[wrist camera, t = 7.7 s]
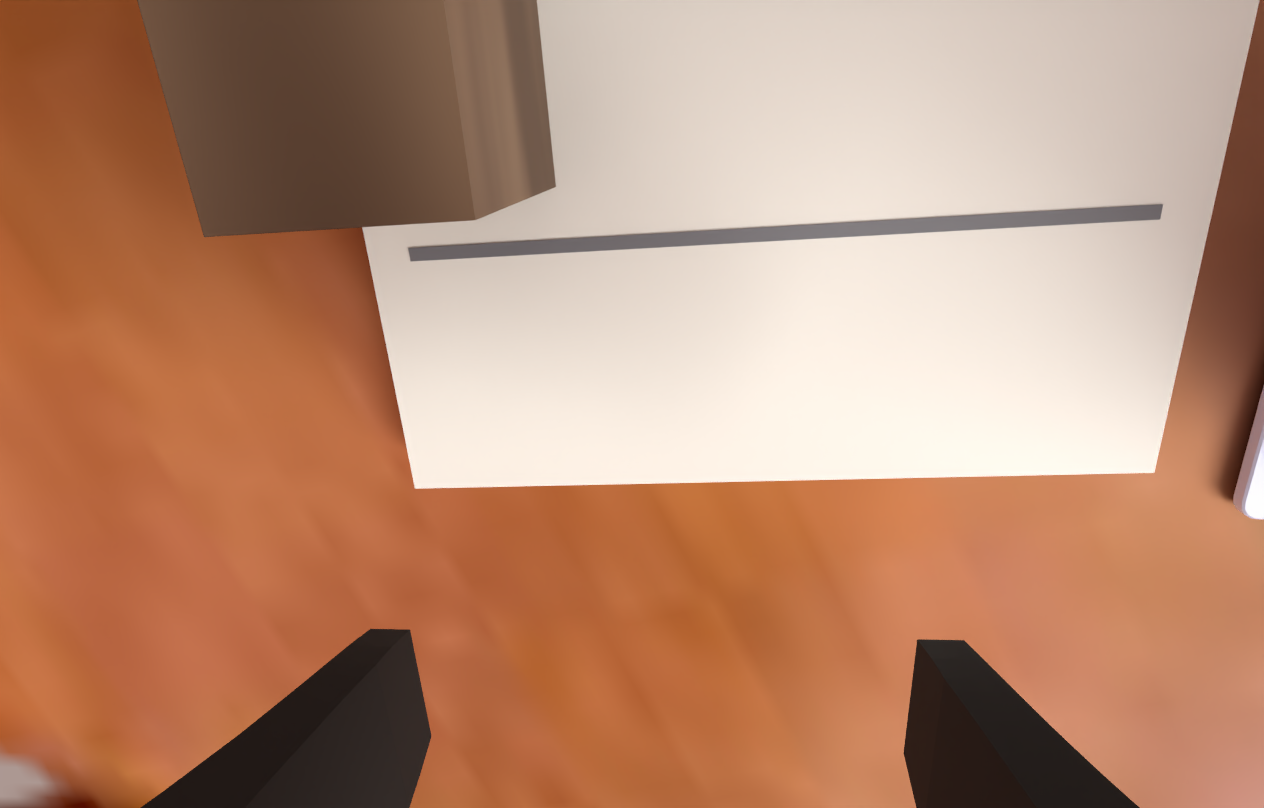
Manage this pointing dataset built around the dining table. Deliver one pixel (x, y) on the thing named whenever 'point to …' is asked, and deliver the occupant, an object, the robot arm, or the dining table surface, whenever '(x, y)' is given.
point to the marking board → (827, 246)
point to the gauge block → (353, 109)
